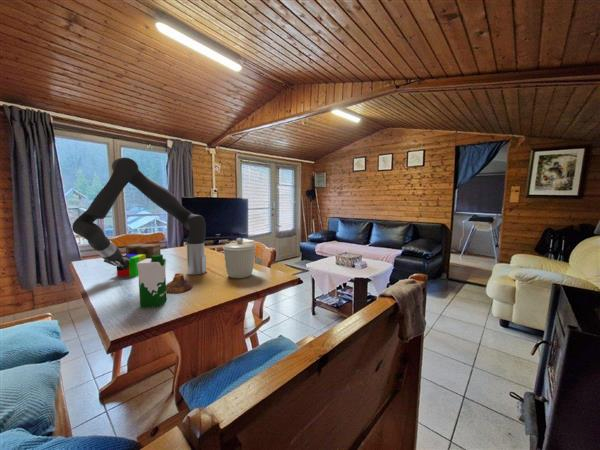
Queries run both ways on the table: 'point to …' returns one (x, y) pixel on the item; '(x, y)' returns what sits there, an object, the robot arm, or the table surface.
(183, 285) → the bell
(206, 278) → the table surface
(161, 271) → the milk carton
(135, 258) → the puzzle toy
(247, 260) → the canister
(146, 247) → the brown wooden box
